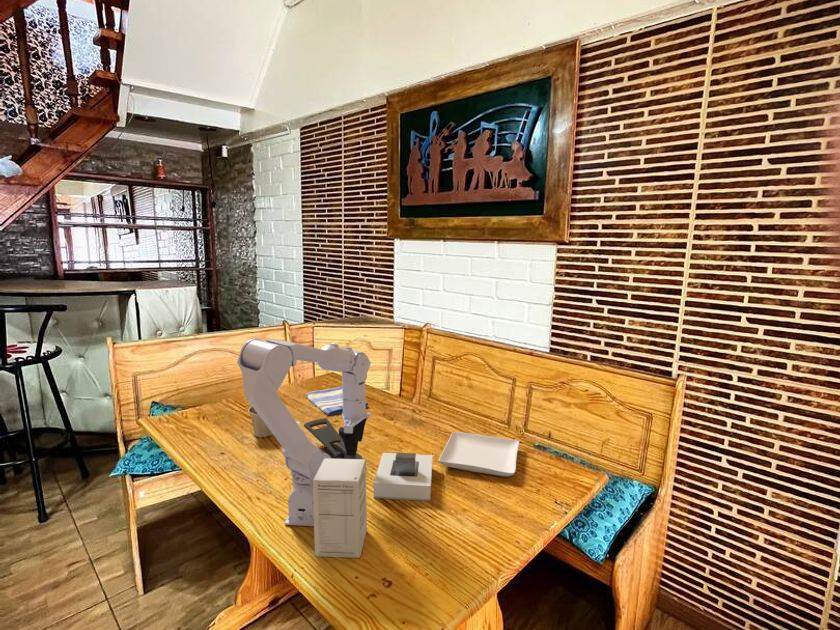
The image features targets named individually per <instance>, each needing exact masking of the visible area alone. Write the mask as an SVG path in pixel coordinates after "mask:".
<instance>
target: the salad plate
mask: <svg viewBox="0 0 840 630" xmlns="http://www.w3.org/2000/svg"><path fill="white" fill-rule="evenodd" d="M519 447H520V441H519V440H516V439H509V438H503V437H498V436H497V437H496V436H491V435H483V434H476V433H468V432H461V431H453V432H451V434H450V436H449V438H448V441H447V443H446V444H445V446H444V448H443V450H442V452H441V454H440V455H439V457H438V462H439V463H440V464H441V465H443V466H445V467H448V468H451V469H452V468H453V469H457V470H462V471H468V472H473V473H480V474H486V475H494V476H497V477H498V476H499V477H511V476H513V475H515V473H516V471H517V457H518V451H519Z"/></svg>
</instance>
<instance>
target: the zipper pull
mask: <svg viewBox="0 0 840 630" xmlns="http://www.w3.org/2000/svg"><path fill="white" fill-rule="evenodd" d="M322 425H326V426H322ZM317 426H322V427H318V428H313V427H317ZM303 427H304V428H305V429H306V430H307V431H308V432H310V433H311V435H313V436H314V437H315V438H316V439H317V440H318V441H319V442H320V444H322V445H323V446H324V447H322V448H321V449H320V450H321V452H322V453H325V454H328V455H329V456H330V457H331V459H363V456H362V455H361V454H359V453H358V452H357V453H356V456H350V455H347V452H346V449H345V445H344V442H343V440H342V438H341V436H340V435H339V431H337V430H336V428H335V427H334V426H333V425H332V423H331V422H330V421H329V419H328V418H320V419H313V420H311V421H307V422H305V423H304V424H303Z"/></svg>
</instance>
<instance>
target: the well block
mask: <svg viewBox="0 0 840 630" xmlns="http://www.w3.org/2000/svg"><path fill="white" fill-rule="evenodd" d="M396 453H397V452H396ZM396 453H395V452H393V453H392V452H382V454H381V457H380V461H379V464H378V466H377V467H378V468H377V471H376V473H375V478H374V481H373V499H387V500H401V501H402V500H405V501H407V500H408V501H420V502H421V501H422V502H423V501H424V502H425V501H426V502H431V497H432V495H431V493H432V476H433V454H417V453H415V454H416V467H415V470H416V477H412V476H395V460H396Z"/></svg>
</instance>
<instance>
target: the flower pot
mask: <svg viewBox="0 0 840 630" xmlns="http://www.w3.org/2000/svg"><path fill="white" fill-rule="evenodd" d="M247 412H248V414H249V417H250V419H251V425H252V429H253V435H254V436H255V437H256V438H262V437H264V438H267V437H271V436H274V435H273V434H272V432H271V431H270V430H269V428H268V427H267V426H266V424H265V423H264V422H263V420H262V419H261V418H260V416H259V415H258V414H257V412H256V411H255V410H254V408H253V407H252V406H250V407H249V408H248V409H247Z"/></svg>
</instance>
